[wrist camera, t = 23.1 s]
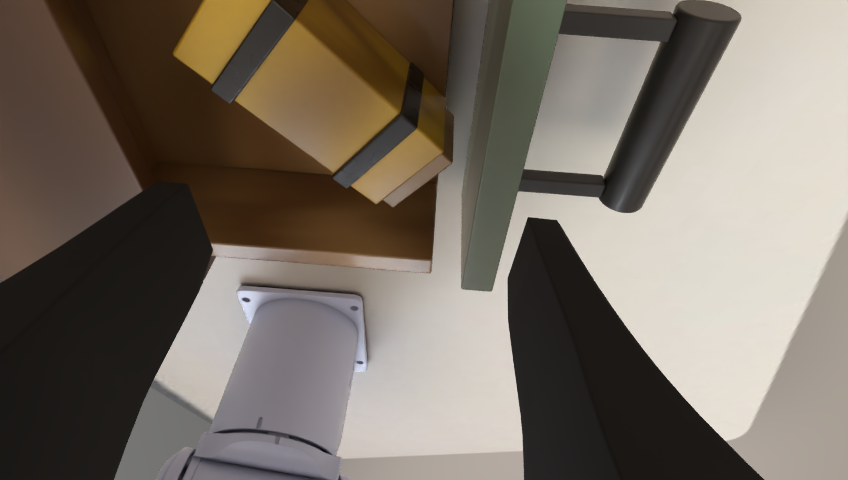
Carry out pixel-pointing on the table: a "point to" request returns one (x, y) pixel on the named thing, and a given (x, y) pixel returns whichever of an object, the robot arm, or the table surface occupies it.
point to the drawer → (429, 51)
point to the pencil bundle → (325, 89)
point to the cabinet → (57, 135)
